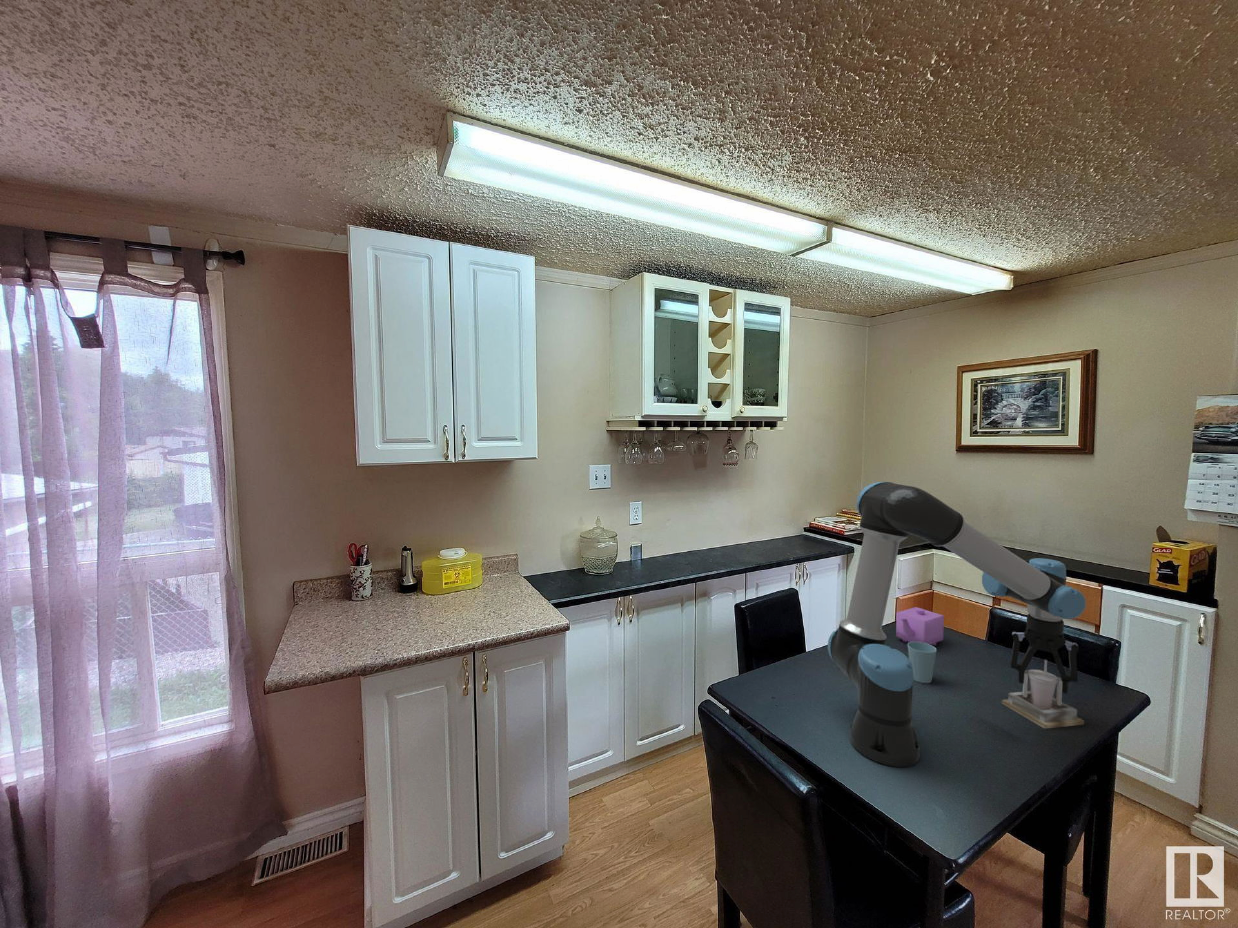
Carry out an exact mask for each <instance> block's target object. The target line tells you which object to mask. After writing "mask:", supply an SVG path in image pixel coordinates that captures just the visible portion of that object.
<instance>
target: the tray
mask: <svg viewBox="0 0 1238 928" xmlns="http://www.w3.org/2000/svg"><path fill="white" fill-rule="evenodd" d="M1001 704H1002V705H1004V706H1006V707H1007V708H1009V709H1010V710H1012V711H1014V712H1016V713H1017V714H1019V715H1020V716H1022V717H1024V718H1026V719H1028V720H1029V721H1031V722H1033V724H1036V725H1037V726H1039V727H1041V728H1042V729H1055V728H1063V727H1064V728H1065V727H1073V726H1082V725H1085V720H1083V719H1082V718H1080V717H1078V709H1076V708H1075V707H1073V706H1070V705H1069V704H1067V703H1065V702H1063V701H1062V704H1061V706H1060V705H1057V701H1056V698H1055V697H1053V701H1052V706H1051V710H1043V709H1041V708H1039V707H1037V706H1035V705H1034V704H1032V700H1031V691H1030V690H1027V697H1023V691H1017V692H1016V691H1015V692H1008V699H1001Z"/></svg>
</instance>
